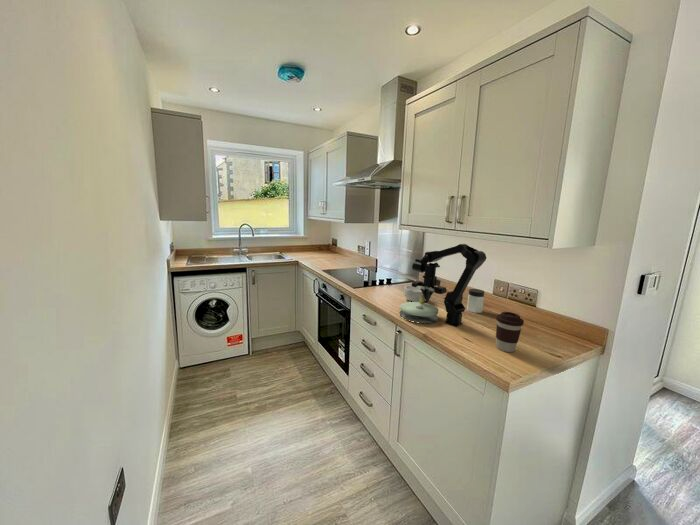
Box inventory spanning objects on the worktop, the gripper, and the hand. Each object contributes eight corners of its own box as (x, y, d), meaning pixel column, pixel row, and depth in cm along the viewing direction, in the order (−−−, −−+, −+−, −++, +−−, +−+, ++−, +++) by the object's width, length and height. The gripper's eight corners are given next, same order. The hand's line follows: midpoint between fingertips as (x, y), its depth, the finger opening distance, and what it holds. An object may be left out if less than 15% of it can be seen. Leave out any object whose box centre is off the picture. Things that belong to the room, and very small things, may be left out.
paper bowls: (432, 302, 180) (434, 290, 179) (412, 305, 173) (414, 292, 172) (417, 295, 194) (418, 284, 192) (398, 297, 187) (399, 285, 186)
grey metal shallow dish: (445, 318, 153) (446, 312, 152) (421, 326, 141) (422, 320, 140) (415, 308, 168) (416, 302, 168) (391, 314, 156) (391, 308, 155)
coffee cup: (490, 349, 121) (495, 314, 118) (494, 341, 129) (498, 308, 126) (517, 356, 115) (523, 320, 113) (519, 347, 124) (525, 314, 121)
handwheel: (445, 312, 152) (447, 301, 151) (422, 319, 140) (423, 308, 139) (416, 301, 167) (417, 292, 166) (392, 307, 155) (393, 297, 154)
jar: (466, 307, 174) (468, 287, 172) (480, 309, 172) (483, 289, 170) (467, 311, 166) (469, 291, 164) (482, 314, 164) (485, 293, 161)
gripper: (453, 276, 155) (450, 304, 158) (423, 269, 169) (421, 295, 172) (442, 278, 148) (439, 307, 151) (412, 271, 162) (409, 298, 164)
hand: (427, 302), depth 160 cm, fingers closed
